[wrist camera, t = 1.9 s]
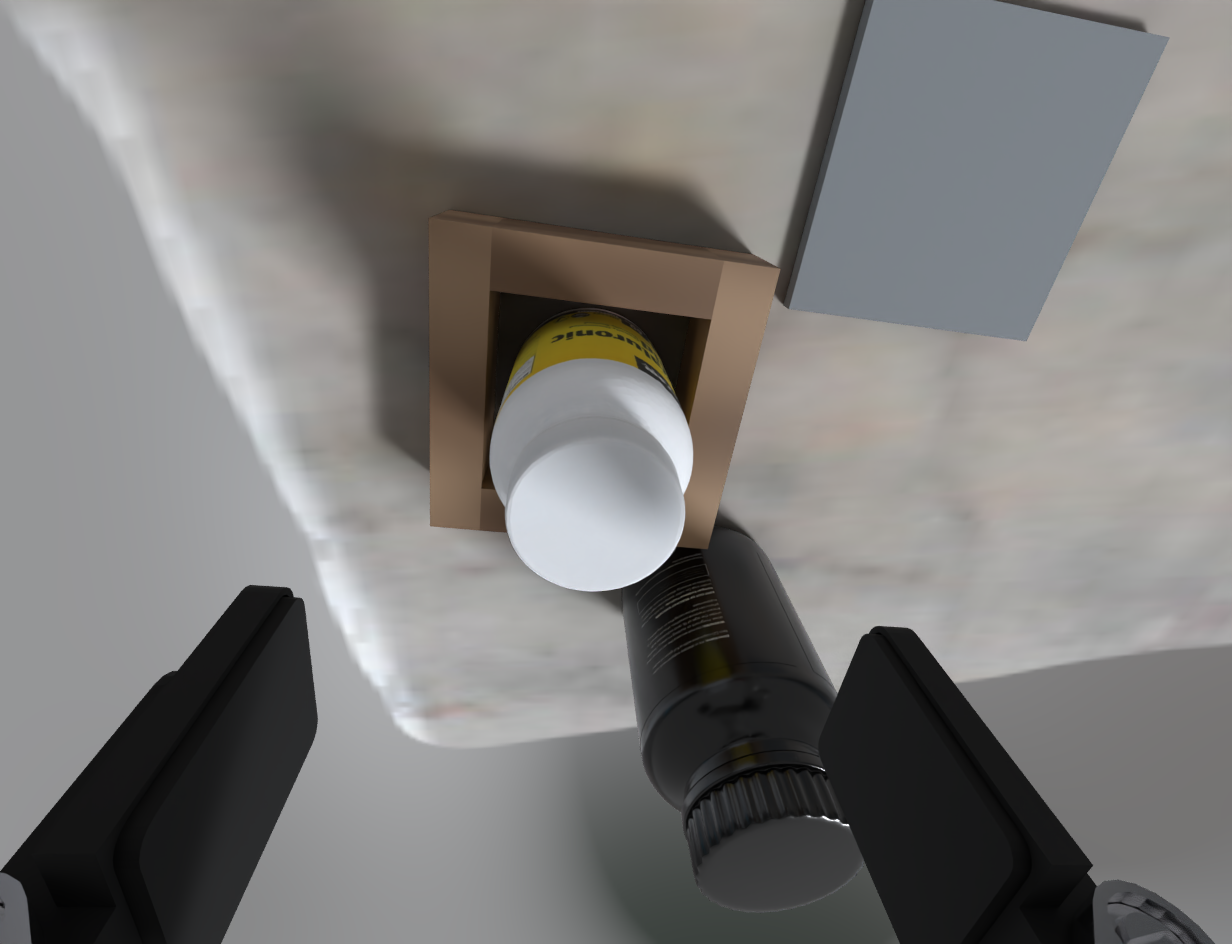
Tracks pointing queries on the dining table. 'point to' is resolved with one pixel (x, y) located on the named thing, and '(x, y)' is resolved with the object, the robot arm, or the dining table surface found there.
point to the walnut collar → (596, 274)
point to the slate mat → (964, 162)
